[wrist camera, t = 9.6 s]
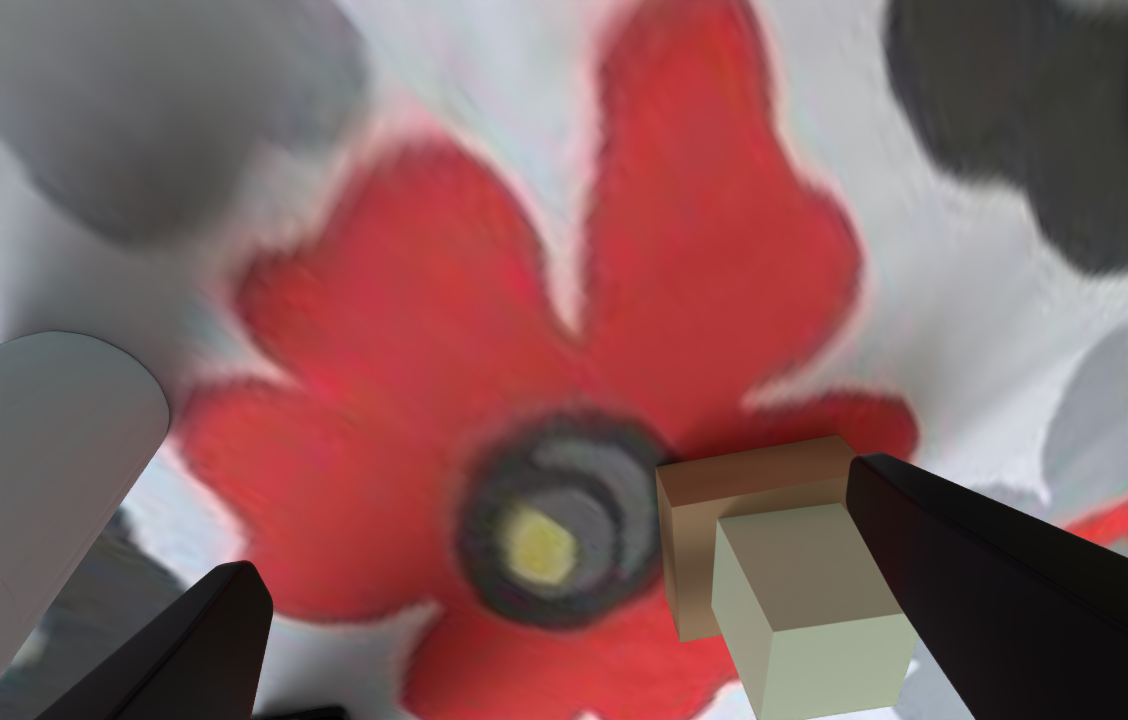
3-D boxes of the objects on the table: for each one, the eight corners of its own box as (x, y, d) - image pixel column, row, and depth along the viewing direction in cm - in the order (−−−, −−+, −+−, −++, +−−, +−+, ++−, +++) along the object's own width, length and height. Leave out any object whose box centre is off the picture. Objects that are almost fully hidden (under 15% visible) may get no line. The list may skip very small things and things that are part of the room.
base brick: (819, 559, 28) (853, 610, 25) (662, 588, 27) (680, 642, 25) (832, 428, 24) (874, 471, 21) (652, 460, 24) (671, 507, 21)
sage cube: (840, 502, 22) (927, 610, 17) (822, 590, 24) (895, 705, 20) (717, 518, 22) (773, 632, 17) (711, 606, 24) (759, 726, 19)
